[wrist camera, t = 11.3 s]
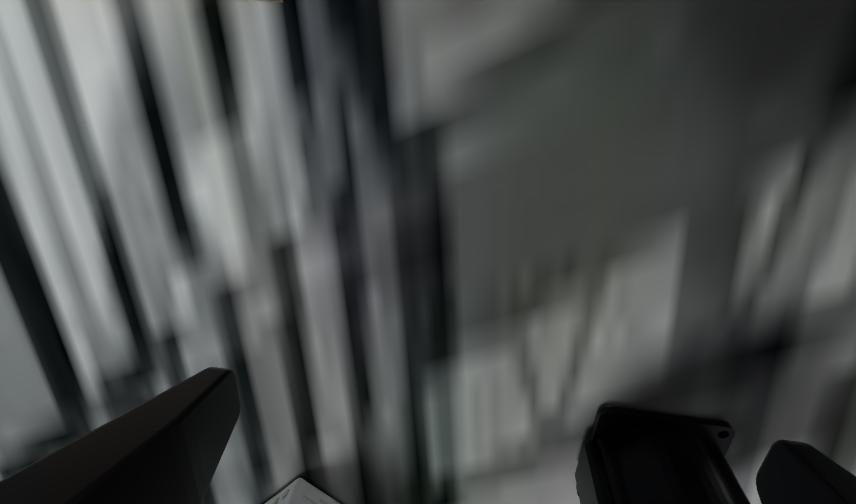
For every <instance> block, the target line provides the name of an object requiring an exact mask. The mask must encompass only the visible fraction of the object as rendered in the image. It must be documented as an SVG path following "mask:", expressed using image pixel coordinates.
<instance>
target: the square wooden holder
mask: <svg viewBox="0 0 856 504" xmlns="http://www.w3.org/2000/svg"><path fill="white" fill-rule="evenodd" d="M249 1H266V2H283V0H249Z"/></svg>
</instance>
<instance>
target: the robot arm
mask: <svg viewBox="0 0 856 504" xmlns="http://www.w3.org/2000/svg"><path fill="white" fill-rule="evenodd" d="M239 413H240V399H239V393H238V387H237V381H236V376H235V373H234V372H233V371H232V370H230V369H224V368H217V367H210V368H207V369H205V370H203V371H201V372H199V373H197V374H196V375H194V376H192V377H190V378H188V379H186V380H185V381H183V382H181V383H179V384H177V385H175V386H174V387H172V388H170V389H168V390H166V391H164V392H163V393H161V394H159V395H157V396H155V397H153V398H152V399H150V400H148V401H146V402H144V403H143V404H141V405H139V406H137V407H135V408H133V409H132V410H130V411H128V412H126V413H124V414H122V415H121V416H119V417H117V418H115V419H113V420H111V421H110V422H108V423H106V424H104V425H102V426H100V427H99V428H97V429H95V430H93V431H91V432H90V433H88V434H86V435H84V436H82V437H80V438H79V439H77V440H75V441H73V442H71V443H69V444H68V445H66V446H64V447H62V448H60V449H58V450H57V451H55V452H53V453H51V454H49V455H48V456H46V457H44V458H42V459H40V460H38V461H37V462H35V463H33V464H31V465H29V466H27V467H26V468H24V469H22V470H20V471H18V472H16V473H15V474H13V475H11V476H9V477H7V478H5V479H4V480H2V481H0V504H201V502H202V499H203V497H204V495H205V493H206V491H207V489H208V486H209V484H210V482H211V479H212V477H213V475H214V473H215V470H216V468H217V466H218V463H219V461H220V459H221V456H222V454H223V452H224V450H225V447H226V445H227V443H228V440H229V438H230V436H231V433H232V431H233V429H234V427H235V424H236V422H237V420H238V417H239ZM607 416H611V417H609V418H606V417H607ZM721 431H722V432H721ZM734 434H735V433H734V430H733V429H732V427H731V426H730V424H729V423H727V422H725V421H719V420H711V419H703V418H696V417H688V416H680V415H672V414H664V413H656V412H648V411H641V410H633V409H625V408H617V407H603V408H601V409H599V411H598V412H597V416H596V419H595V422H594V426H593V429H592V433H591V436H590V440H587V441H586V442H585V443H584V444H583V448H582V451H581V455H580V458H579V462H578V465H577V469H576V472H575V478H576V483H577V485H576V489H577V494H578V496H579V499H580V504H750V502H749V500H748V498H747V496H746V495H745V493H744V491H743V489H742V487H741V486H740V484H739V482H738V480H737V478H736V476H735V475H734V473H733V471H732V469H731V467H730V466H729V464H728V462H727V460H726V458H725V457H724V456H725V454H726V452H727V450H728V448H729V446H730V444H731V442H732V439H733V437H734ZM756 486H757V491H758V494H759V497H760V500H761V503H762V504H856V476H854V475H853V474H851V473H850V472H848V471H847V470H846V469H844V468H843V467H841V466H840V465H838V464H837V463H835V462H834V461H833V460H831V459H830V458H828V457H827V456H825V455H824V454H823V453H821V452H820V451H818V450H817V449H815V448H814V447H812V446H811V445H809V444H807V443H803V442H796V441H788V440H778V441H776V442H775V443H773V445H772V446H771V448H770V450H769V452H768V454H767V456H766V457H765V459H764V461H763V463H762V465H761V467H760V469H759V471H758V473H757V477H756Z"/></svg>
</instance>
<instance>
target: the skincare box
mask: <svg viewBox="0 0 856 504" xmlns="http://www.w3.org/2000/svg"><path fill="white" fill-rule="evenodd" d="M265 504H340V503H338V502H337V501H335V500H334V499H332V498H331V497H329V496H328V495H326V494H325V493H323V492H322V491H320V490H319V489H317V488H315V487H314V486H313V485H311V484H309V483H308V482H306V481H305V480H304V479H302V478H298V479H296V480H295V481H294V482H292V483H291V484H290V485H289V486H288V487H286V488H285V489H284V490H282V491H281V492H280V493H278V494H277V495H276V496H274V497H273V498H271V499H270V500H269V501H267V502H266V503H265Z"/></svg>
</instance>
